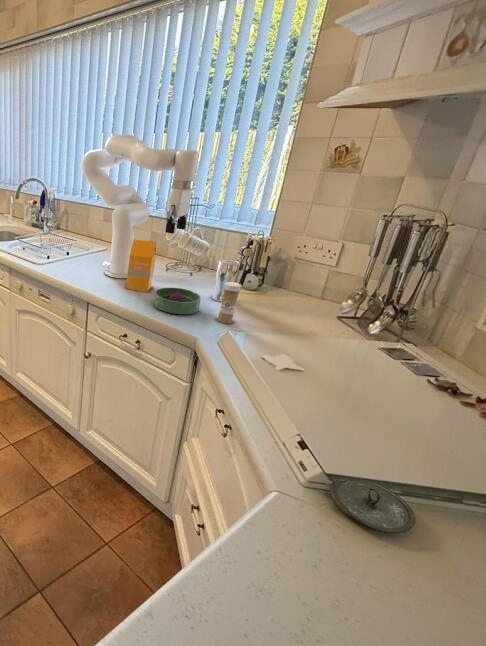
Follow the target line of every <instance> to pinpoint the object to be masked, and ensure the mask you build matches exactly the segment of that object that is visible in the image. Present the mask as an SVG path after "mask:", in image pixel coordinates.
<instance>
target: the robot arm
mask: <svg viewBox="0 0 486 646" xmlns="http://www.w3.org/2000/svg"><path fill="white" fill-rule="evenodd" d="M198 160H199V151H198V150H197V149H196V150H195V149H177V148H164V149H163V148H161V149H158V148H152V147H149V146H147V144H146V142H145V141H144V140H141V139H138V138H137V137H136V136H135V135H133V134H114V135H112V136H110V137H109V138H108V139H107V140H106V142H105V149H93V150H90V151H88V152H86V153H85V154H84V156H83V157H82V160H81V171H82V174H83V177H84V179H85V180H86V181H87V183H89V185H90V186H91V187H92V189H93V190H94V192H95V193H96V194H97V195H98V197H99V199H100V200H101V202H102V203H103V204H104V205H105V207H107V208H109V209H114V210H113V211H112V213H111V224H112V236H111V247H110V257H109V262H107V261H104V262H102V268H106V270H105V272H104V273H105V275H106V276H108V277H111V278H115V279H127V274H128V266H129V257H130V252H131V248H132V244H133V240H135V230H134V226H138V225H141V224H144V223H146V222H147V221H148V220H149V218H150V210H149V207H148V205H147V204H146V203H145V201H144V200H143V198H142V197H141V196H140V194H139V193H138V191H136V189H135V188H134V187H133V186H132V185H129V184H117V183H116V182H115V181H114V180H113V179H112V178H111V176H110V175H109V174H108V173H106V172H105V171H104V170H111V169H114V168H116V167H117V166H119V165H120V164H122V163H123V162H124V161H129V162H132V163H133V164H134V165H135V166H137V167H140V168H143V169H144V170H145V169H146V170H148V171H149V170H150V171H153V172H161V171H162V172H163V171H173V172H172V179H171V185H170V186H171V187H170V192H169V196H168V199H167V200H168V201H167V205H166V210H165V218H166V220H165V221H166V222H165V223H166V224H165V233H166V234H174V233H175V229H176V230H184V231H185V229H186V225H187V219H188V215H189V211H190V205H191V198H192V197H191V196H192V191H193V190H194V184H195V179H196V178H195V177H196V172H197V166H198ZM176 220H177V222H176Z"/></svg>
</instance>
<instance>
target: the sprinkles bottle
mask: <svg viewBox="0 0 486 646" xmlns="http://www.w3.org/2000/svg"><path fill="white" fill-rule="evenodd" d="M241 287H242V285H241V284H240V283H238V282H236V281H235V282H226V283H225V286H224V293H223V297H222V302H220V307H219V311H218V315H217V321H218V322H219V323H222V324H232V322H233V319H234V314H235V311H236V306H237V302H238V297H239V294H240V291H241Z"/></svg>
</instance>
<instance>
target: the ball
mask: <svg viewBox="0 0 486 646" xmlns="http://www.w3.org/2000/svg"><path fill="white" fill-rule="evenodd" d="M169 300H171V301H177V302H184V297H183V295H182V294H180V293H173V294H172V295H171V296H170V298H169Z"/></svg>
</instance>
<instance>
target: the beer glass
mask: <svg viewBox="0 0 486 646" xmlns="http://www.w3.org/2000/svg"><path fill="white" fill-rule="evenodd" d="M216 267H217V268H216V271H215V273H216V274H215V288H214V293H213V294H212V299H213V300H214V301H216V302H220V303H221V302H222V297H223V293H224V286H225V283H226V282H235V283H236V280H237V277H238V273H239V268H240V261H237V260H234V259H230V258H229V259H227V258H225V259H224V258H223V259H219V261H218V265H217V266H216Z"/></svg>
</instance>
